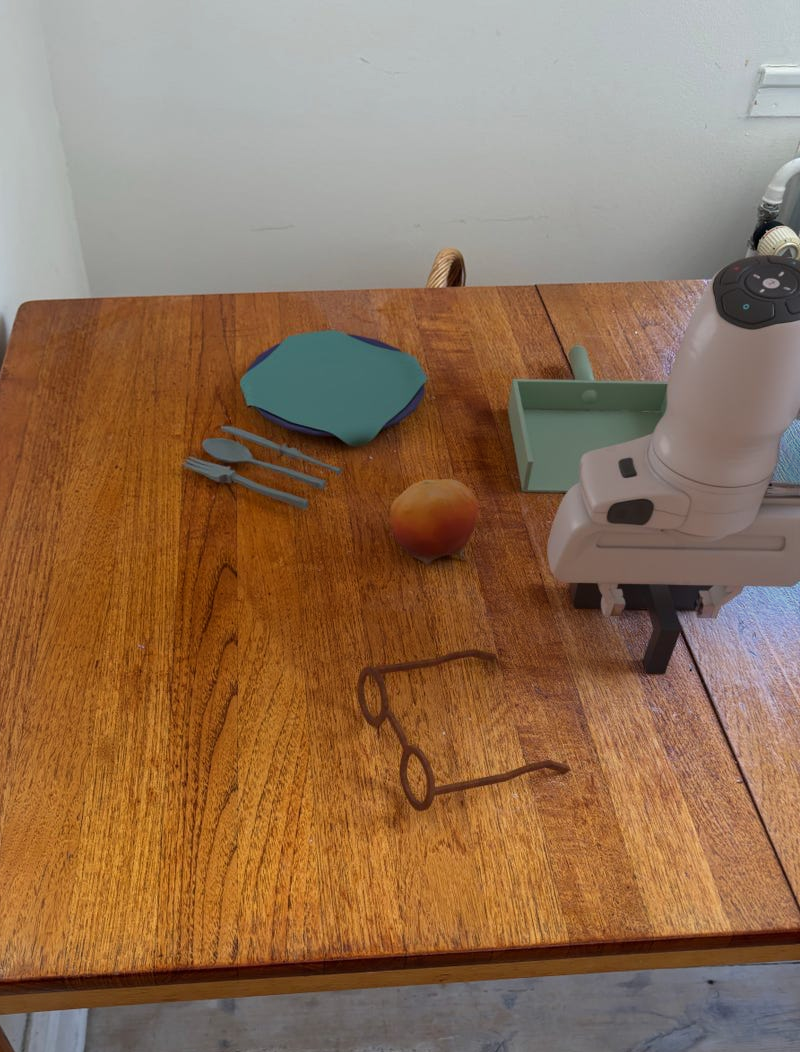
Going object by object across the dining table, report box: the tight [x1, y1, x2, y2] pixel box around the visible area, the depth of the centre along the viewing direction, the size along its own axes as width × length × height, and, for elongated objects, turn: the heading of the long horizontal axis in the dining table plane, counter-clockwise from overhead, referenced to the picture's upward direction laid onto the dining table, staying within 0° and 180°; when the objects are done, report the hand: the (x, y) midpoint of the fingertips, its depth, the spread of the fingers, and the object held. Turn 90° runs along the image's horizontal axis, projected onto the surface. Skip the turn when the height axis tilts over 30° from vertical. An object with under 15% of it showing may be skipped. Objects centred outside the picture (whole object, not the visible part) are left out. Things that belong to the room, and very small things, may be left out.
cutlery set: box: [181, 329, 430, 511], centre depth 112 cm, size 20×30×2 cm, turn 149°
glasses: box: [356, 648, 572, 812], centre depth 81 cm, size 13×13×5 cm
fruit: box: [390, 478, 480, 567], centre depth 97 cm, size 8×8×8 cm
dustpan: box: [507, 344, 668, 494], centre depth 111 cm, size 24×17×4 cm
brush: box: [568, 583, 714, 675], centre depth 90 cm, size 10×12×5 cm
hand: (657, 612), depth 88 cm, fingers open, 6 cm apart
